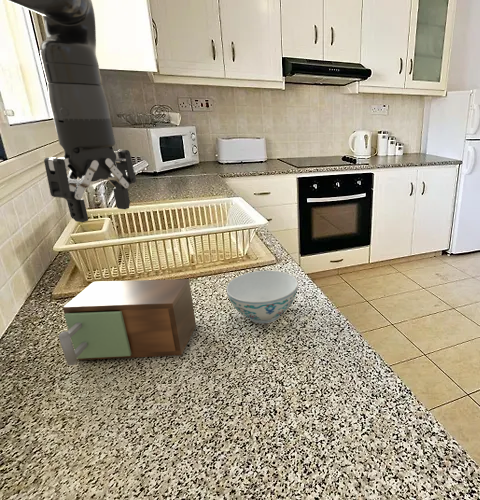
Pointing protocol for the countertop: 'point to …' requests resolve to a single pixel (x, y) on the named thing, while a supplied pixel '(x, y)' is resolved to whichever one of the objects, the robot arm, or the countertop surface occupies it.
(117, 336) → the slide door
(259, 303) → the chinaware
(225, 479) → the countertop surface
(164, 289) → the cupboard
